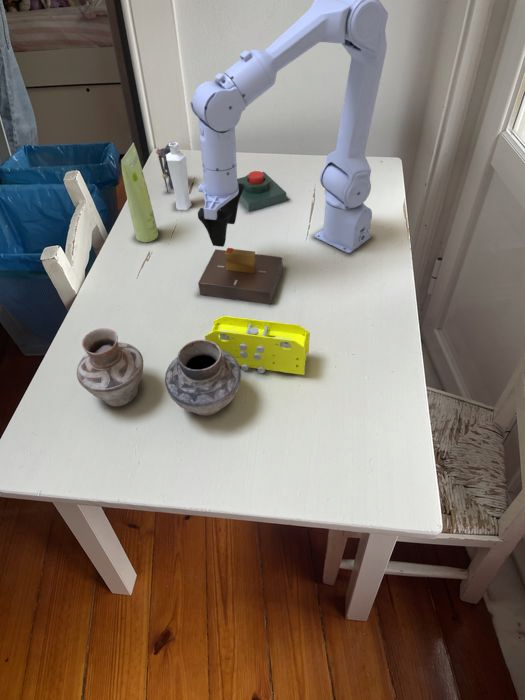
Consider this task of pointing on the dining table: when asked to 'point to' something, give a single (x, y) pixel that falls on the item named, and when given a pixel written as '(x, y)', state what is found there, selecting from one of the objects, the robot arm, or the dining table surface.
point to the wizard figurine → (165, 164)
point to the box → (260, 193)
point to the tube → (138, 197)
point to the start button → (256, 177)
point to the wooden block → (240, 260)
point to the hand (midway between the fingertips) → (224, 233)
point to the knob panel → (241, 279)
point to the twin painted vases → (181, 376)
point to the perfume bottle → (179, 176)
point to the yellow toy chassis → (262, 343)
